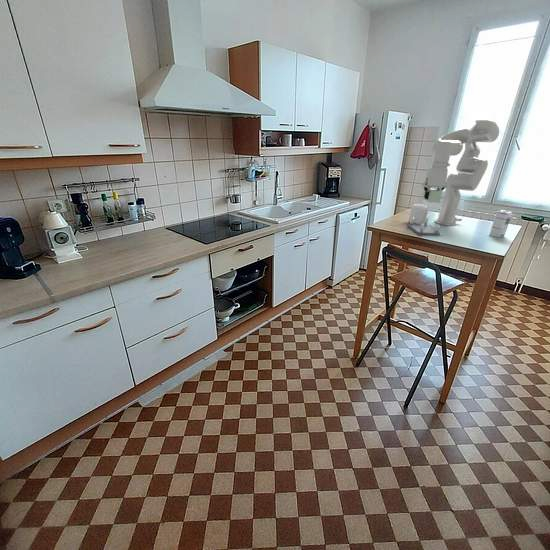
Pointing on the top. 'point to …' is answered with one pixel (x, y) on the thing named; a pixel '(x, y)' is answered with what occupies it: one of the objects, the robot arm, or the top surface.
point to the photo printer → (418, 213)
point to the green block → (433, 195)
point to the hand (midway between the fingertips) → (431, 198)
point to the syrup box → (500, 223)
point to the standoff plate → (425, 231)
